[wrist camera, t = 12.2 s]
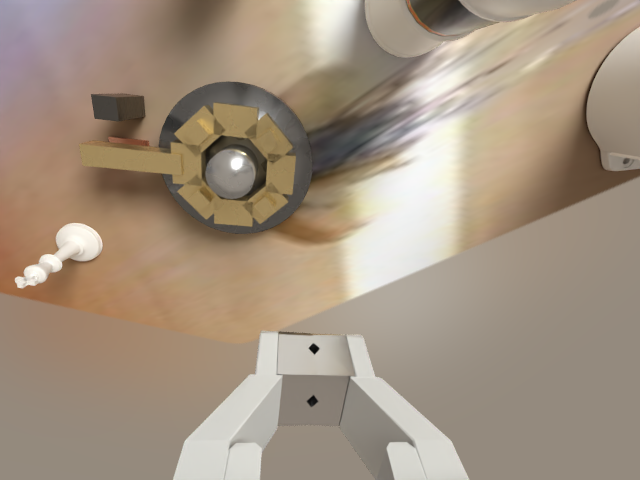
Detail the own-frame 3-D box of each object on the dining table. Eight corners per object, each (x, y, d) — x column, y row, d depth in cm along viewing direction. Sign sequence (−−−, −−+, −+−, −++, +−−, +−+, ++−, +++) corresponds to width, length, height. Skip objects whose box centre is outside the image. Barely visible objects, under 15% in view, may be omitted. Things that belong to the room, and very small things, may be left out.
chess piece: (57, 218, 39) (-14, 258, 29) (102, 227, 39) (47, 268, 30) (59, 255, 40) (-7, 302, 31) (102, 262, 41) (50, 310, 32)
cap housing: (318, 93, 35) (326, 93, 28) (303, 229, 42) (306, 258, 34) (99, 63, 32) (45, 56, 25) (120, 214, 39) (81, 242, 32)
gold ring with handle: (299, 112, 33) (300, 114, 30) (289, 222, 38) (289, 234, 35) (84, 84, 30) (63, 84, 27) (103, 207, 35) (86, 217, 32)
